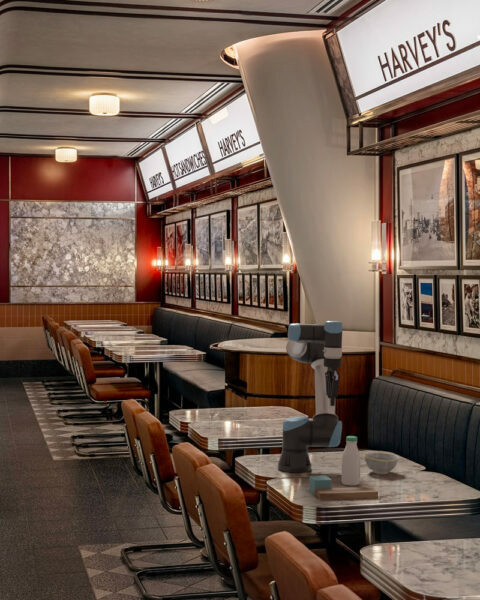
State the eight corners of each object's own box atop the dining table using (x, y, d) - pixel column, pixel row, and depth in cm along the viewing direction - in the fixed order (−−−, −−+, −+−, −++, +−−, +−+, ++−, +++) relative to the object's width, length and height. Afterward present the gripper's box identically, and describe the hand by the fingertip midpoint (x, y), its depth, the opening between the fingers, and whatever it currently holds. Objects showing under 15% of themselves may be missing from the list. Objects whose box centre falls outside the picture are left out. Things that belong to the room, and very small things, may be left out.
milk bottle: (359, 486, 367) (360, 438, 367) (340, 485, 369) (341, 437, 368) (360, 482, 375) (361, 435, 374) (342, 481, 377) (343, 434, 376)
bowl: (404, 472, 397) (404, 455, 397) (390, 478, 384) (391, 461, 384) (371, 467, 406) (372, 450, 406) (356, 473, 393) (357, 456, 392)
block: (309, 490, 359) (309, 476, 359) (325, 490, 360) (325, 475, 360) (314, 495, 352) (314, 480, 352) (331, 494, 353) (331, 479, 353)
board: (313, 494, 352) (314, 488, 352) (370, 493, 357) (370, 486, 357) (319, 499, 344) (320, 493, 344) (378, 498, 349) (378, 491, 349)
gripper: (319, 356, 378) (318, 410, 379) (329, 359, 366) (327, 415, 366) (336, 356, 380) (334, 410, 381) (346, 359, 367) (344, 415, 368)
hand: (331, 413), depth 373 cm, fingers closed
